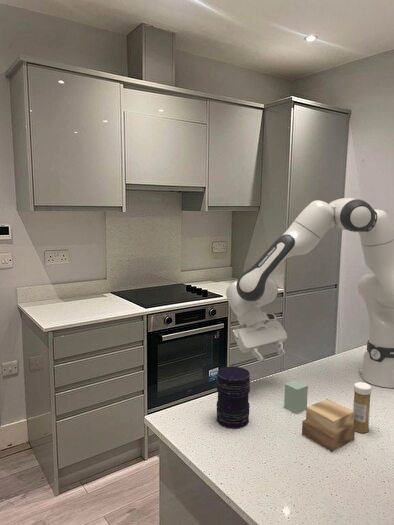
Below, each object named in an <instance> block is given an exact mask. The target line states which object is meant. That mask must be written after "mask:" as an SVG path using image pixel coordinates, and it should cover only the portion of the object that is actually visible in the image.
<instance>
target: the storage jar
mask: <svg viewBox="0 0 394 525" xmlns="http://www.w3.org/2000/svg"><path fill="white" fill-rule="evenodd" d="M216 374H217V375H216V376H217V377H216V391H217V401H216V422H217V423H218V425H220V426H221V427H224V428H226V429H230V430H231V429H232V430H233V429H234V430H235V429H236V430H237V429H242V428H245V427H246V426H248V424H249V423H250V418H249V417H250V402H249V396H250V390H251V381H250V380H251V379H250V378H251V376H250V375H251V374H250V371H249V370H248V369H246V368H243V367H241V366H224V367H222V368H219V369H218V370H217V373H216Z"/></svg>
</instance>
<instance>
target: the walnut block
mask: <svg viewBox="0 0 394 525" xmlns="http://www.w3.org/2000/svg"><path fill="white" fill-rule="evenodd" d="M301 426H302V427H301V435H302V436H303V437H305V438H307V439H309V440H310V441H312V442H314V443H315V444H317V445H319V446H321V447H322V448H325V449H326V450H327V451H329V452H332V453H333V452H335V451H337V450H338V449H339V448H342V447H344V446H346V445H347V444H349V443H351V442H352V441H355V437H356V436H355V435H356V431H355V425H353V426H351V427H349V428H347V429H345V430H343V431H341V432H339V433H337V434H335V435H331V434H329V433H327V432H325V431H324V430H322V429H320V428H318V427H316V426H315V425H313V424H311V423H309V422H307V421H306V419H303V420H302V423H301Z"/></svg>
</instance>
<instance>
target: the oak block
mask: <svg viewBox="0 0 394 525" xmlns="http://www.w3.org/2000/svg"><path fill="white" fill-rule="evenodd" d="M305 412H306V413H305V420H306V421H307V422H309V423H311V424H313V425H315V426H316V427H318V428H320V429H322V430H324V431H325V432H327V433H329V434H331V435H335V434H337V433H339V432H341V431H343V430H345V429H347V428H349V427H351V426H353V425H354V411H353V409H350V408H348V407H346V406H345V405H344V406H343V405H342V404H339V403H337V402H336V401H333V400H331V399H330V398H329V399H328V398H325V399H323V400H321V401H318V402H316V403H315V404H314V403H313V404H311V405H309V406H307V408H306V410H305Z"/></svg>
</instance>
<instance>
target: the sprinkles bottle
mask: <svg viewBox="0 0 394 525" xmlns="http://www.w3.org/2000/svg"><path fill="white" fill-rule="evenodd" d="M353 391H354V396H353V406H352V408H353V409H352V411H354V425H355V432H357V433H363V434H366V433H368V432H369V429H370V428H369V423H370V408H371V407H370V406H371V395H372V386H371V385H370V383H366V382H359V381H358V382H356V383H354V386H353Z"/></svg>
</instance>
